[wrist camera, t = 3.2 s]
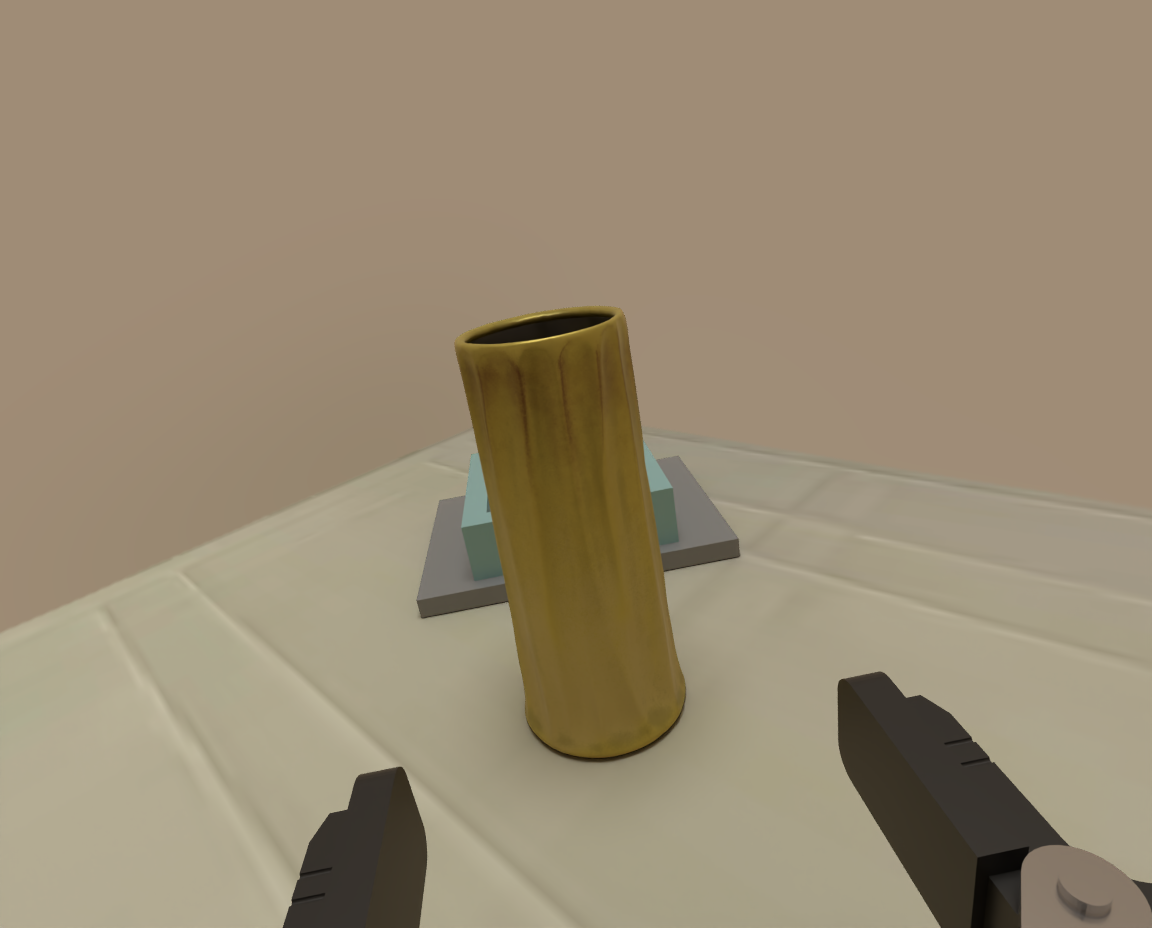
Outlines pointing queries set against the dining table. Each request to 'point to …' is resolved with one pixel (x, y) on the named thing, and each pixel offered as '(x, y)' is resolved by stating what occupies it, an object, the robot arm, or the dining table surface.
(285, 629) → the dining table surface
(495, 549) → the dock
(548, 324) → the vase
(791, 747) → the dining table surface
